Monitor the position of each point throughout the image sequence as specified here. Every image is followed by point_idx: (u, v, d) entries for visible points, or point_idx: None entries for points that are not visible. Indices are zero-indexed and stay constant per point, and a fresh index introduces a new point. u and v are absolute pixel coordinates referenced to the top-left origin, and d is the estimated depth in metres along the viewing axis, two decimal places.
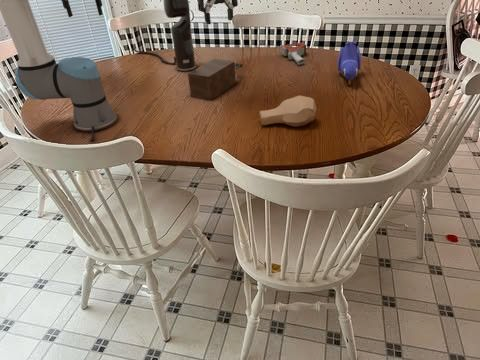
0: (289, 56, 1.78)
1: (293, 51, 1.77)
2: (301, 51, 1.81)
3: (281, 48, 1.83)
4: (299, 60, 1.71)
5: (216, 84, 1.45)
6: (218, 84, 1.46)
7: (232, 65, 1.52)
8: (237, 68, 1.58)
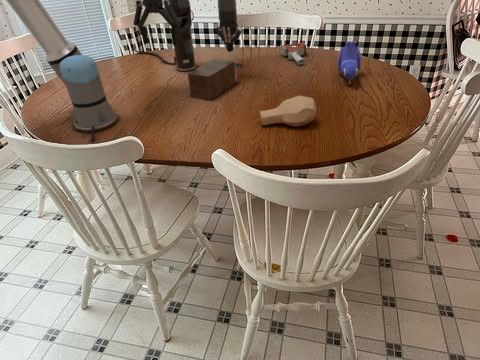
0: (289, 56, 1.78)
1: (293, 51, 1.77)
2: (301, 51, 1.81)
3: (281, 48, 1.83)
4: (299, 60, 1.71)
5: (216, 84, 1.45)
6: (218, 84, 1.46)
7: (232, 65, 1.52)
8: (237, 68, 1.58)
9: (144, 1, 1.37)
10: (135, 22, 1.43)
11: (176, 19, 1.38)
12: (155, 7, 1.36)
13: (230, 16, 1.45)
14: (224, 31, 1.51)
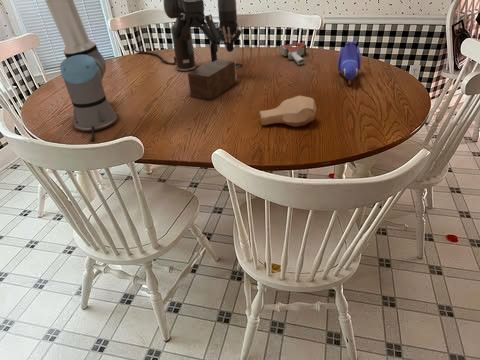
0: (289, 56, 1.78)
1: (293, 51, 1.77)
2: (301, 51, 1.81)
3: (281, 48, 1.83)
4: (299, 60, 1.71)
5: (216, 84, 1.45)
6: (218, 84, 1.46)
7: (232, 65, 1.52)
8: (237, 68, 1.58)
9: (186, 15, 1.32)
10: (176, 35, 1.39)
11: (217, 35, 1.31)
12: (196, 22, 1.31)
13: (230, 16, 1.45)
14: (224, 31, 1.51)
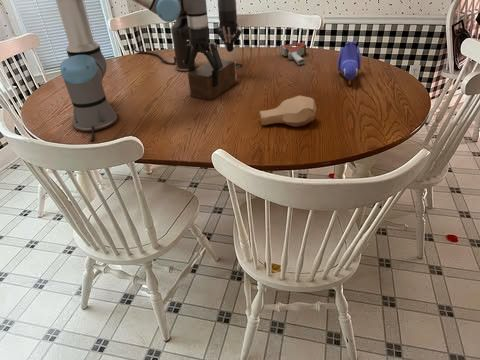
0: (289, 56, 1.78)
1: (293, 51, 1.77)
2: (301, 51, 1.81)
3: (281, 48, 1.83)
4: (299, 60, 1.71)
5: None
6: None
7: (232, 65, 1.52)
8: (237, 68, 1.58)
9: (192, 41, 1.37)
10: (185, 61, 1.44)
11: (219, 62, 1.37)
12: (201, 47, 1.35)
13: (230, 16, 1.45)
14: (224, 31, 1.51)
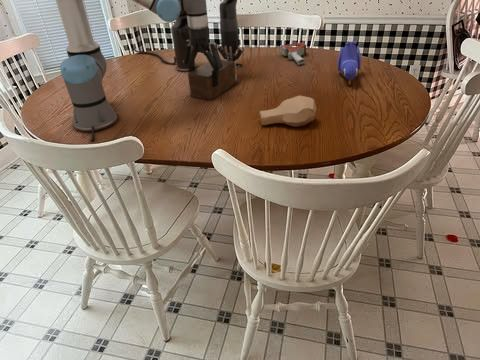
0: (289, 56, 1.78)
1: (293, 51, 1.77)
2: (301, 51, 1.81)
3: (281, 48, 1.83)
4: (299, 60, 1.71)
5: None
6: None
7: (232, 65, 1.52)
8: (237, 68, 1.58)
9: (192, 41, 1.37)
10: (185, 61, 1.44)
11: (219, 62, 1.37)
12: (201, 47, 1.35)
13: (232, 36, 1.50)
14: (226, 50, 1.56)
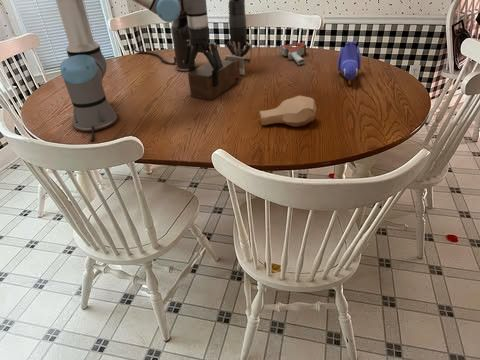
0: (289, 56, 1.78)
1: (293, 51, 1.77)
2: (301, 51, 1.81)
3: (281, 48, 1.83)
4: (299, 60, 1.71)
5: None
6: None
7: (232, 65, 1.52)
8: (245, 63, 1.63)
9: (192, 41, 1.37)
10: (185, 61, 1.44)
11: (219, 62, 1.37)
12: (201, 47, 1.35)
13: (240, 32, 1.55)
14: (234, 46, 1.61)
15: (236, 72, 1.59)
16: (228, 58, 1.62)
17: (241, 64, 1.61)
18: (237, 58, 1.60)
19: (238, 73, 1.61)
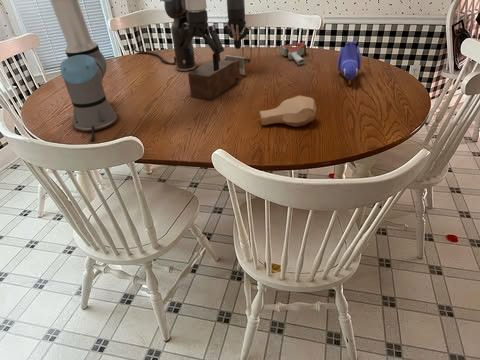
0: (289, 56, 1.78)
1: (293, 51, 1.77)
2: (301, 51, 1.81)
3: (281, 48, 1.83)
4: (299, 60, 1.71)
5: (216, 83, 1.45)
6: (218, 84, 1.46)
7: (232, 65, 1.52)
8: (245, 63, 1.63)
9: (189, 25, 1.33)
10: (179, 44, 1.40)
11: (219, 45, 1.33)
12: (199, 32, 1.32)
13: (239, 14, 1.50)
14: (232, 29, 1.56)
15: (236, 72, 1.59)
16: (228, 58, 1.62)
17: (241, 64, 1.61)
18: (237, 58, 1.60)
19: (238, 73, 1.61)
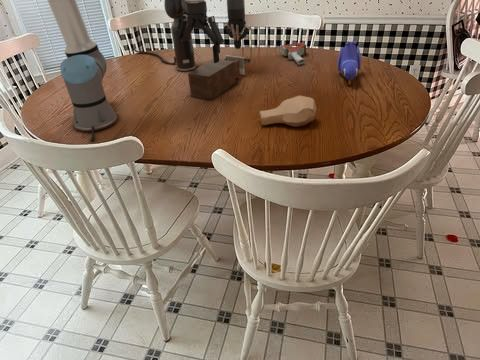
0: (289, 56, 1.78)
1: (293, 51, 1.77)
2: (301, 51, 1.81)
3: (281, 48, 1.83)
4: (299, 60, 1.71)
5: (216, 83, 1.45)
6: (218, 84, 1.46)
7: (232, 65, 1.52)
8: (245, 63, 1.63)
9: (189, 16, 1.32)
10: (179, 36, 1.39)
11: (219, 36, 1.31)
12: (199, 23, 1.30)
13: (239, 14, 1.50)
14: (232, 29, 1.56)
15: (236, 72, 1.59)
16: (228, 58, 1.62)
17: (241, 64, 1.61)
18: (237, 58, 1.60)
19: (238, 73, 1.61)
